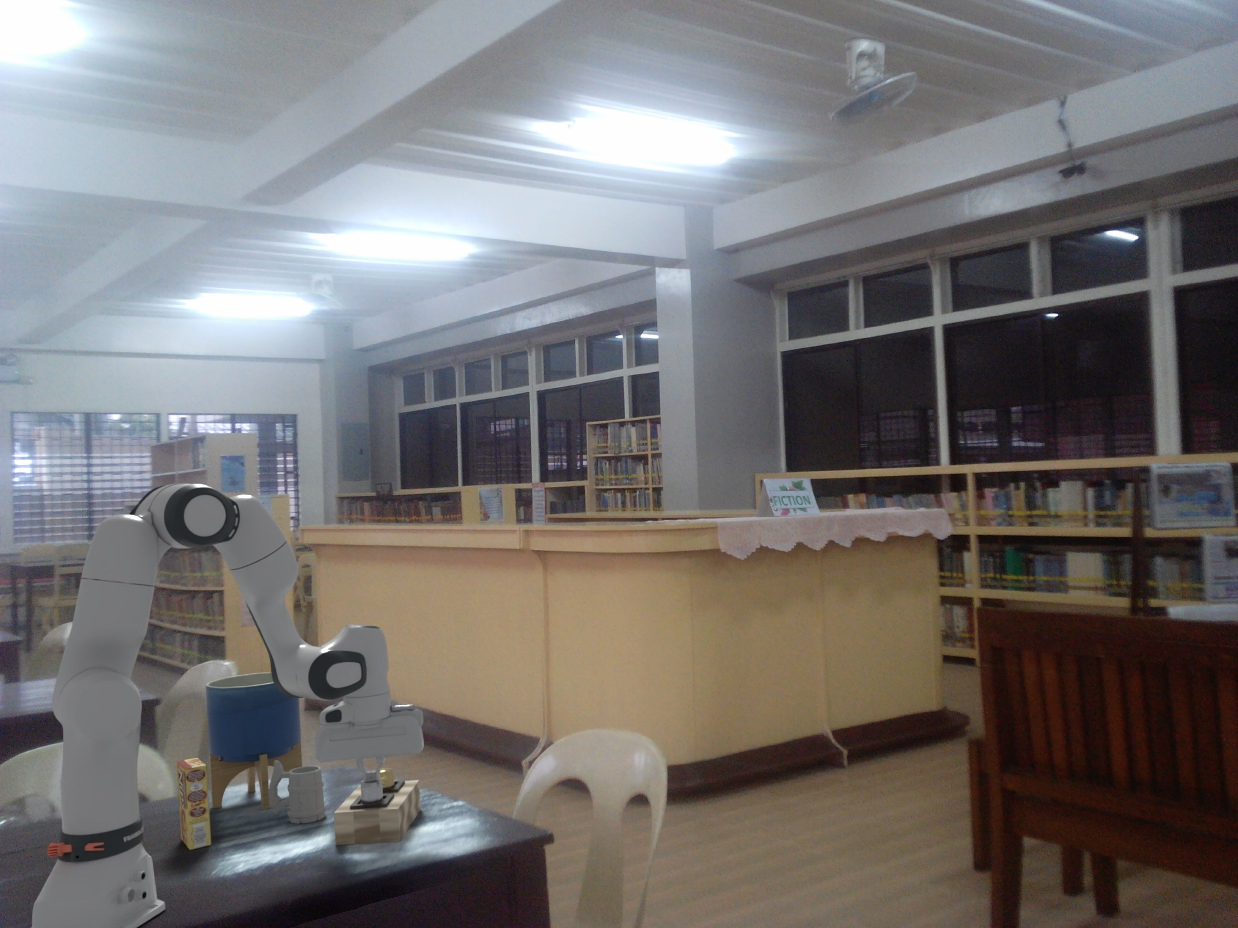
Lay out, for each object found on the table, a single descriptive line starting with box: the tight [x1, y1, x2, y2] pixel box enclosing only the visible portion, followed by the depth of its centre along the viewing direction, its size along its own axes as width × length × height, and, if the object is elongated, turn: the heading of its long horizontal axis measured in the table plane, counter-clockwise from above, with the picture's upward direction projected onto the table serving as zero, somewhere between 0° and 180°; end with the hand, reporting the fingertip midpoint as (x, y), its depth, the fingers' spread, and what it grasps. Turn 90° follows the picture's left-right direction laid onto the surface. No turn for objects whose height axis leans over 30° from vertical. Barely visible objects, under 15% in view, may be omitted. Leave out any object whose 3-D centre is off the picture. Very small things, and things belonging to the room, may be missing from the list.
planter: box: [205, 671, 303, 810], centre depth 231 cm, size 19×19×26 cm
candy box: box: [176, 757, 212, 851], centre depth 202 cm, size 9×4×15 cm, turn 33°
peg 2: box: [380, 767, 395, 789], centre depth 209 cm, size 4×4×6 cm
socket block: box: [333, 779, 422, 846], centre depth 204 cm, size 20×12×7 cm, turn 0°
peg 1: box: [360, 779, 383, 804], centre depth 200 cm, size 4×4×6 cm
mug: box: [268, 760, 327, 825], centre depth 214 cm, size 8×12×12 cm, turn 85°
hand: (371, 780), depth 200 cm, fingers closed, pressing on peg 1
